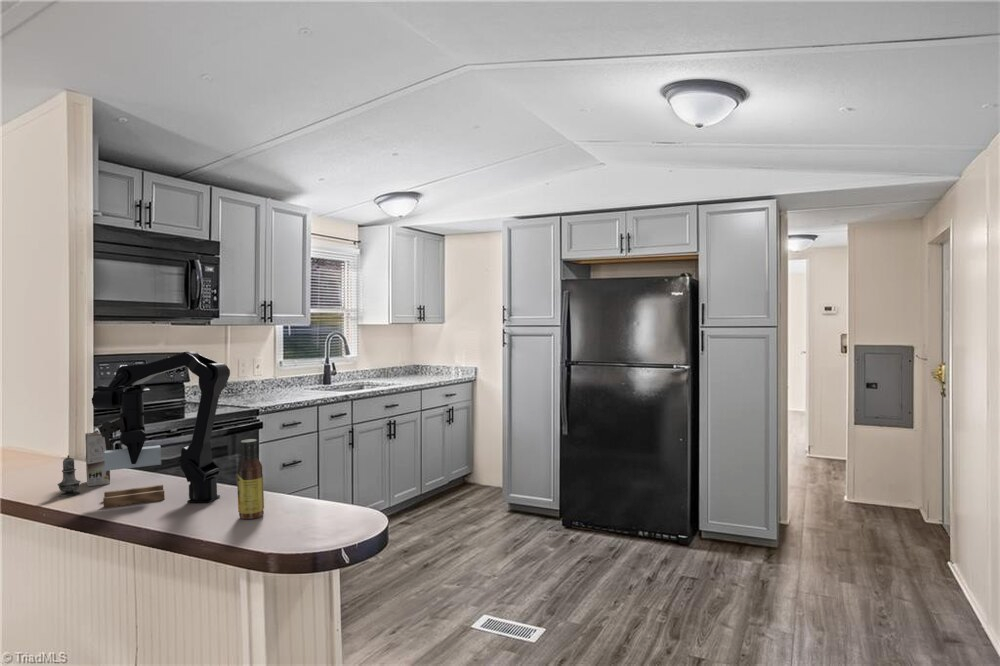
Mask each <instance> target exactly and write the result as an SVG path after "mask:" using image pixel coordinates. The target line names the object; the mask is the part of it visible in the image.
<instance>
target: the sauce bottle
mask: <svg viewBox="0 0 1000 666" xmlns="http://www.w3.org/2000/svg"><path fill="white" fill-rule="evenodd" d="M239 442H240V443H239V444H240V445H239V446H240V450H241V452H240V453H241V456H240V462H239V465H238V467H237V470H236V483H237V484H236V485H237V510H238V514H239V515H238V516H239V518H240V519H241V520H255V519H258V518H260V517H263V515H264V512H265V511H264V509H265V498H264V497H265V496H264V491H265V490H264V474H263V466H262V463H261V461H260V460H259V458H258V452H257V451H258V448H257V447H258V439H255V438H249V439H243V440H241V441H239Z"/></svg>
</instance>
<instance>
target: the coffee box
mask: <svg viewBox="0 0 1000 666" xmlns="http://www.w3.org/2000/svg"><path fill="white" fill-rule="evenodd" d="M84 434H85V439H84V440H85V470H86V472H85V473H86V483H87V484H86V485H87V487H92V486H93V487H94V486H95V487H96V486H103V485H110V484H111V470H107V471H105V457H104V452H105V451H108V450H111V449H110V434H109V435H108V436H106V437H102V436H101V434H100V431H95V432H86V433H84Z"/></svg>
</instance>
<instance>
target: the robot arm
mask: <svg viewBox="0 0 1000 666" xmlns="http://www.w3.org/2000/svg"><path fill="white" fill-rule="evenodd" d="M182 368H188V370H189V371H190V372H191V373H192V374H193V375H195V376H197V377H198V387H199V389H200V390H199V391H200V400H199V403H198V409H197V413H196V418H195V424H194V428H193V432H192V433H193V434H192V438H191V442H190V444H188V445H186V446H185V447H182V448H181V450H180V451H181V452H180V457H179V458H180V459H179V460H178V463H180V470H181V471H182V472H183V474H184V477H185V479H186V481H187V483H189V484H188V499H187V501H186V502H187V503H188V504H190V503H192V504H193V503H196V504H197V503H211V502H213V501H215V500H217V499H218V498H220V497H221V495H220V494H218V485H217V484H218V481H217V480H218V479H217V476H219V475H220V472H221V467H220V466H219V465H218V464H217V463H216V462H215V461H214V460H213V450H212V447H211V438H212V432H213V427H214V424H215V418H216V413H217V408H218V405H219V404H218V403H219V398H220V395H221V393H222V392H223V391H224V389H225V387H226V386H227V384H228V382H229V379H230V375H231V370H230V368H229V367H228V365H227V364H225V363H223V362H218V361H216V360H214V359H212V358H209V357H206V356H204V355H202V354H201V353H199V352H198V351H194V350H193V351H183V352H182V353H179V354H177V355H176V354H175V355H172V356H169V357H166V358H162V359H158V360H155V361H151V362H147V363H142V364H140V363H139V364H130V365H123V366H119V367H118V368H117V370H116V373H115V376H114V377H113V379H112V380H111V382H110V383H109V384H108V385H103V384H102V385H97V386H96V390H95V392H94V393H93V395H92V397H91V403H92V406H93V408H94V409H96V410H116V409H120V412H119V417H118V418H115V419H113V420H106V421H103V422H101V424H100V425H97V430H98V432H100V434H101V436H102V437H106V436H108V435H109V436H110V435H111V434H113V433H116V432H120V434H119V442H120V444H122V445H123V446H125V447H126V449H128V452H129V456H130V460H131V464H136V462H137V460H138V457H139V455H140V452H141V450H142V447H144V444H145V442H146V440H147V439H146V438H147V437H146V435H147V434H146V429H145V428H146V427H145V417H144V416H145V412H144V393H150V392H151V389H150V388H149V387H147V386H146V385H145V384H144V383H145V382H148V381H149V380H151V379H152V378H154V377H155V376H157V375H161V374H164V373H168V372H171V371H175V370H178V369H182ZM136 385H137V386H136ZM124 389H125V390H124Z"/></svg>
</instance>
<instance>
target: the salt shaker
mask: <svg viewBox="0 0 1000 666" xmlns="http://www.w3.org/2000/svg"><path fill="white" fill-rule="evenodd" d="M76 470H77V469H76V468H75V459H74V458H72V457H70V455H69V454H68V455H67V456H66V457H65V458H63V461H62V470H61V473H62V480H61V481H60V482H59V483H57V484H56V485H57V486H58V489H59V491H61V492H62V493H60V494H59V495H58V497H59V498H68V497H74V496H79V494H80V492H79V491H77V490H78V488H79V487H80V483H81V482H82V480H78V479H77V478H76V475H75V473H76Z"/></svg>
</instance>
